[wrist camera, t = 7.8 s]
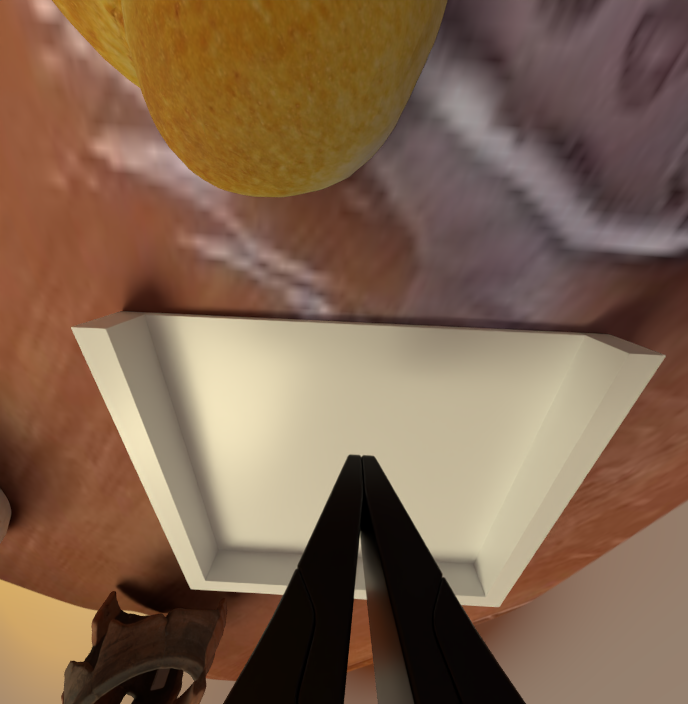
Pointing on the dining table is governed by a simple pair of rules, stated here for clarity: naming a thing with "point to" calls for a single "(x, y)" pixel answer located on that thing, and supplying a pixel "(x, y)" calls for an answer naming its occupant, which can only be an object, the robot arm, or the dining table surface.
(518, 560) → the tray
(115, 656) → the pottery mug
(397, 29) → the bread roll
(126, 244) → the dining table surface
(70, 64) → the dining table surface
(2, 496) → the ramekin
